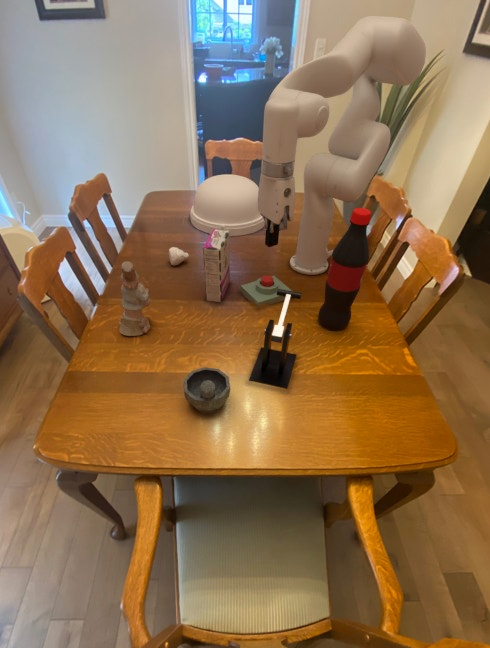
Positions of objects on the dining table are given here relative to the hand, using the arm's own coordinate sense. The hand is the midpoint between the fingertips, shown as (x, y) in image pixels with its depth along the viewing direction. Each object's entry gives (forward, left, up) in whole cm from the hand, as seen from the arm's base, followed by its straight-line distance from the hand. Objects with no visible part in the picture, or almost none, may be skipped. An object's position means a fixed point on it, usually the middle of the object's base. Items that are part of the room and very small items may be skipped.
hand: (271, 244), depth 98 cm
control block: (+1, 0, -15) cm, 15 cm away
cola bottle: (-7, +21, -15) cm, 27 cm away
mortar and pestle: (+36, +31, -15) cm, 50 cm away
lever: (+13, +25, -3) cm, 28 cm away
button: (+1, 0, -11) cm, 11 cm away
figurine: (+40, -3, -15) cm, 42 cm away
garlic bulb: (+16, -29, -15) cm, 36 cm away
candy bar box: (+13, -8, -15) cm, 21 cm away
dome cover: (-15, -52, -15) cm, 56 cm away
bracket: (+17, +28, -15) cm, 36 cm away
